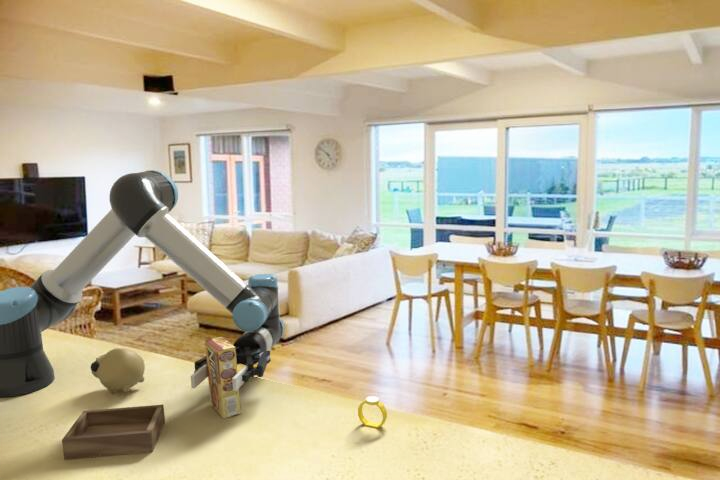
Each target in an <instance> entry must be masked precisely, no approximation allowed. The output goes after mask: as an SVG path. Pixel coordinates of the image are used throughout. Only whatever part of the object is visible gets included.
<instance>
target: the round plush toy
mask: <svg viewBox="0 0 720 480" xmlns="http://www.w3.org/2000/svg"><path fill="white" fill-rule="evenodd" d="M145 367H146V366H145V361H144V359H143V357H142V355H140V354H138V353H137V352H136V351H133V350H130V349H127V348H120V347H119V348H117V347H116V348H113V349H111V350H109V351H108V352H106V353H105V354H102V355H100V356H98V357H96V359H95V361H93V362H92V363H91V364H90V370H91V374H92V376H93V377H95V378H97V379H98V380H99V382H100V383H101V385H102V386H103V387H105V388H106V389H107V392H108V395H113V394H115V392H125V393H128V392H129V391H130V390H131V388H133V387H135V386H136V385H137V384H138V383H144V382H145V376H144V374H145Z"/></svg>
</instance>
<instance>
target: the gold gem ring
mask: <svg viewBox="0 0 720 480" xmlns="http://www.w3.org/2000/svg"><path fill="white" fill-rule="evenodd" d="M364 404H366V405H369V406H376V407H378V408H379V410H380V411H381V413H382V421H381V423H376V422H372V421H371V422H370V421H368V420H367V419H366V417H365V415H364V413H363V406H364ZM387 413H388V411H387V409H386V407H385V406H384V404H383V403H382V402H381V401H380V398H379V397H377V396H375V395H374V396H373V395H371V396H370V395H369V396H367V397H366V398H365V399H364V400H363V401H362V402H361V403H360V404H359V406H358V407H357V416H358V418H359V421H360V422H361V424H363V425H364V427H370V428H374V429H379V428H381V427H383V425H384V424H386V421H387V418H388V414H387Z"/></svg>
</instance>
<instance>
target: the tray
mask: <svg viewBox="0 0 720 480" xmlns="http://www.w3.org/2000/svg"><path fill="white" fill-rule="evenodd" d="M164 406H165V405H164V404H154V405H141V406H140V405H139V406H127V407H116V408H104V409H102V408H101V409H91V410H90V409H89V410H83V411H82V412H81V413H80V414H79V416H78V418H77V419H76V420H75V422H74V423H73V424H72V425H71V427H69V430H68V431H67V433H66V434H64V436H63V437H62V438H61V446H62V453H63V460H64V461H65V460H75V459H86V458H97V457H98V458H99V457H109V456H120V455H132V454H133V455H134V454H144V453H153V452H154V449H155V447H156V444H157V443H158V439H159V437H160V435H161V433H162V430H163V428H164V426H165V423H166V420H165V419H166V418H165V407H164Z"/></svg>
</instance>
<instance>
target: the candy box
mask: <svg viewBox="0 0 720 480" xmlns="http://www.w3.org/2000/svg"><path fill="white" fill-rule="evenodd" d="M233 345H234V344H232V343H231V342H230V341H228V340H227V339H226V338H224V337H223V336H216V337H213V338H208V339H205V340H204V347H205V356H206V359H207V370H208V377H207V380H208V388H209V399H210V400H209V401H210V402H209V403H210V405H211V406H212V407H213V408H214V410H215V411H216V412H217V413H218V414H219V415H220V416H221V417H222V418H223V419H227V418H230V417H234V416H237V415H240V414H241V402H240V401H241V399H240V388H239V389H238V390H237V391H233V382H232V378H233V377H234V376H235V375H236V374H237V373H238V365H237V361H236V348H235V346H233Z"/></svg>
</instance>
